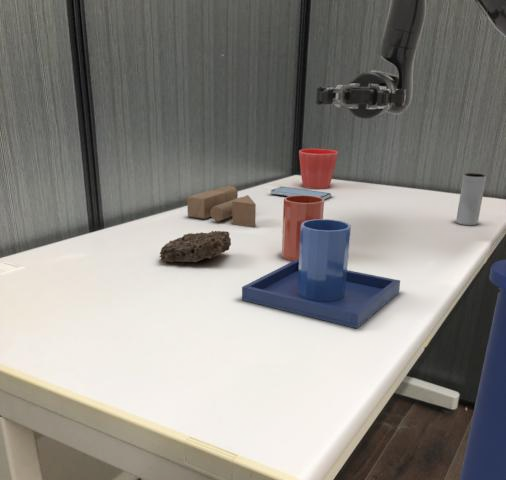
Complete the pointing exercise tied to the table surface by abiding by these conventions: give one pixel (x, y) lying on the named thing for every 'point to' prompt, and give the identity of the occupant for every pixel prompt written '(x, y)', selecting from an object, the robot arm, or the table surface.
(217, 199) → the wooden block set
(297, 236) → the red cup
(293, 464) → the table surface
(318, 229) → the blue cup
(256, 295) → the blue tray
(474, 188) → the grey hollow tube
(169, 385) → the table surface
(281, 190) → the smartphone
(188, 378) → the table surface
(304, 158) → the flower pot
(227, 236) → the dark brown rock
